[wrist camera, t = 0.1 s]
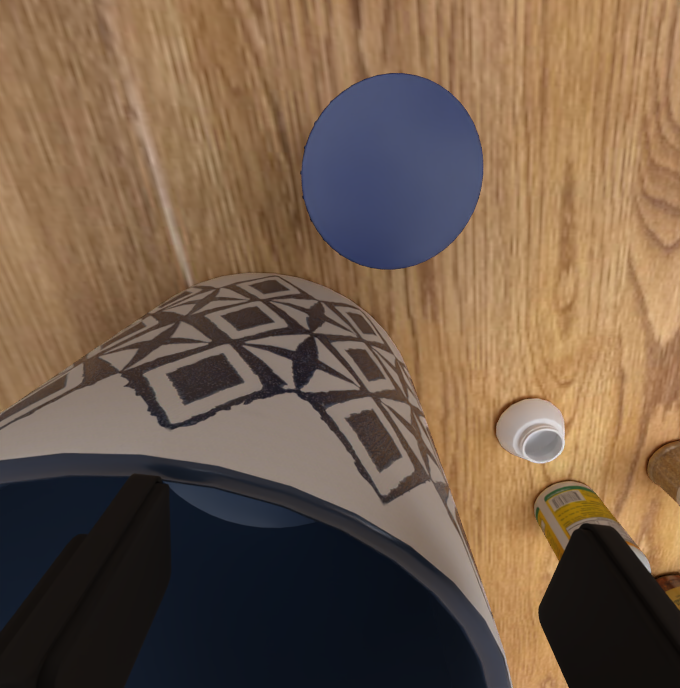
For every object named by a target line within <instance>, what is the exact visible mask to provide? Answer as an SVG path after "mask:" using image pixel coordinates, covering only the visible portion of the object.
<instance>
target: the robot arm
mask: <svg viewBox="0 0 680 688" xmlns="http://www.w3.org/2000/svg"><path fill="white" fill-rule="evenodd" d="M170 576H171V532H170V495H169V485H168V484H163V483H162V479H161V477H160V476H154V475H145V474H136V473H134V474H132V475H131V476H130V477H129V478H128V480H127V481H126V482H125V484H124V485H123V487H122V488H121V489H120V491H119V492H118V493H117V495H116V496H115V498H114V499H113V500H112V502H111V503H110V505H109V506H108V507H107V509H106V510H105V512H104V513H103V514H102V516H101V517H100V518H99V520H98V521H97V523H96V524H95V525H94V527H93V528H92V530H91V531H90V532H89V534H78V535H76V536H75V537H73V538H72V539H71V541H70V542H69V543H68V544H67V545H66V546H65V548H64V549H63V550H62V552H61V553H60V554H59V556H58V557H57V558H56V560H55V561H54V562H53V563H52V565H51V566H50V567H49V569H48V570H47V571H46V573H45V574H44V575H43V577H42V578H41V579H40V581H39V582H38V583H37V585H36V586H35V587H34V589H33V590H32V591H31V592H30V594H29V595H28V596H27V598H26V599H25V600H24V602H23V603H22V604H21V606H20V607H19V608H18V610H17V611H16V612H15V614H14V615H13V616H12V618H11V619H10V620H9V621H8V623H7V624H6V625H5V627H4V628H3V629H2V631H1V632H0V688H124V687H125V684H126V682H127V680H128V677H129V675H130V673H131V670H132V668H133V666H134V664H135V661H136V659H137V657H138V654H139V652H140V650H141V647H142V645H143V643H144V640H145V638H146V636H147V633H148V631H149V629H150V626H151V624H152V622H153V619H154V617H155V615H156V613H157V610H158V608H159V606H160V603H161V601H162V599H163V596H164V594H165V592H166V589H167V587H168V584H169V581H170ZM538 613H539V620H540V623H541V626H542V628H543V631H544V633H545V635H546V637H547V640H548V642H549V644H550V646H551V649H552V651H553V653H554V655H555V658H556V660H557V662H558V664H559V667H560V669H561V671H562V673H563V675H564V678H565V680H566V682H567V684H568V687H569V688H680V610H679V609H678V608H677V606H676V605H675V604H674V603H673V601H672V600H671V599H670V598H669V596H668V595H667V594H666V592H665V591H664V590H663V589H662V587H661V586H660V585H659V583H658V582H657V581H656V580H655V578H654V577H653V576H652V575H651V573H650V572H649V571H648V569H647V568H646V567H645V566H644V564H643V563H642V562H641V561H640V559H639V558H638V557H637V555H636V554H635V553H634V552H633V550H632V549H631V548H630V546H629V545H628V544H627V543H626V541H625V540H624V539H623V538H622V536H621V535H620V534H619V532H618V531H617V530H616V529H615V528H613V527H611V526H608V525H599V524H590V523H584V524H582V525H581V526H580V527H579V529H576V530H574V531H573V533H572V535H571V537H570V540H569V542H568V544H567V546H566V548H565V551H564V553H563V555H562V557H561V559H560V562H559V564H558V566H557V568H556V570H555V573H554V575H553V577H552V579H551V581H550V584H549V586H548V588H547V590H546V592H545V595H544V597H543V599H542V601H541V603H540V606H539V612H538Z"/></svg>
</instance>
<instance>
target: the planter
mask: <svg viewBox="0 0 680 688" xmlns="http://www.w3.org/2000/svg"><path fill="white" fill-rule="evenodd" d="M134 473H136V474H145V475H154V476H160V477H161V479H162V483H163V484H168V485H169V495H170V532H171V576H170V581H169V584H168V587H167V589H166V592H165V594H164V596H163V599H162V601H161V603H160V606H159V608H158V610H157V613H156V615H155V617H154V619H153V622H152V624H151V626H150V629H149V631H148V633H147V636H146V638H145V640H144V643H143V645H142V647H141V650H140V652H139V654H138V657H137V659H136V661H135V664H134V666H133V668H132V670H131V673H130V675H129V677H128V680H127V682H126V684H125V687H124V688H513V686H512V681H511V677H510V673H509V669H508V665H507V660H506V656H505V652H504V649H503V646H502V643H501V640H500V637H499V634H498V631H497V627H496V624H495V621H494V618H493V615H492V612H491V609H490V606H489V603H488V600H487V597H486V594H485V591H484V588H483V585H482V582H481V578H480V575H479V573H478V570H477V567H476V564H475V561H474V558H473V555H472V552H471V549H470V546H469V543H468V541H467V538H466V535H465V532H464V529H463V526H462V523H461V520H460V517H459V514H458V511H457V509H456V506H455V503H454V500H453V497H452V494H451V491H450V488H449V485H448V482H447V479H446V477H445V474H444V471H443V468H442V465H441V462H440V459H439V456H438V453H437V450H436V448H435V445H434V442H433V439H432V436H431V433H430V430H429V428H428V425H427V422H426V419H425V416H424V413H423V410H422V407H421V405H420V402H419V399H418V396H417V393H416V390H415V387H414V385H413V382H412V379H411V377H410V374H409V371H408V369H407V367H406V365H405V362H404V360H403V358H402V356H401V354H400V352H399V350H398V348H397V347H396V345H395V344H394V342H393V341H392V340H391V338H390V337H389V335H388V334H387V332H386V331H385V330H384V329H383V328H382V327H381V326H380V325H379V324H378V323H377V322H376V321H375V320H374V319H373V318H372V317H371V316H370V315H369V314H368V313H367V312H366V311H364V310H363V309H362V308H360V307H359V306H358V305H356V304H355V303H354V302H352V301H351V300H350V299H348V298H346V297H344V296H343V295H341V294H339V293H337V292H335V291H333V290H331V289H329V288H327V287H325V286H322V285H320V284H317V283H314V282H311V281H308V280H305V279H302V278H298V277H292V276H287V275H281V274H275V273H242V274H234V275H227V276H221V277H217V278H214V279H211V280H208V281H205V282H201V283H198V284H196V285H194V286H192V287H190V288H188V289H186V290H184V291H182V292H180V293H178V294H176V295H174V296H173V297H171V298H170V299H168V300H167V301H165V302H164V303H162V304H161V305H159V306H158V307H156V308H155V309H153V310H152V311H150V312H149V313H147V314H146V315H144V316H143V317H141V318H140V319H138V320H137V321H135V322H134V323H132V324H131V325H129V326H128V327H126V328H125V329H124V330H122V331H121V332H119V333H118V334H116V335H115V336H113V337H112V338H110V339H109V340H107V341H106V342H104V343H103V344H101V345H100V346H98V347H97V348H95V349H94V350H92V351H91V352H90V353H88V354H87V355H85V356H84V357H82V358H81V359H79V360H78V361H76V362H75V363H73V364H72V365H70V366H69V367H68V368H66V369H65V370H63V371H62V372H60V373H59V374H57V375H56V376H54V377H53V378H51V379H50V380H48V381H47V382H46V383H44V384H43V385H41V386H40V387H38V388H37V389H35V390H34V391H32V392H31V393H29V394H28V395H27V396H25V397H24V398H22V399H21V400H19V401H18V402H16V403H15V404H13V405H12V406H10V407H9V408H7V409H6V410H5V411H3V412H2V413H0V632H1V631H2V629H3V628H4V627H5V625H6V624H7V623H8V621H9V620H10V619H11V618H12V616H13V615H14V614H15V612H16V611H17V610H18V608H19V607H20V606H21V604H22V603H23V602H24V600H25V599H26V598H27V596H28V595H29V594H30V592H31V591H32V590H33V589H34V587H35V586H36V585H37V583H38V582H39V581H40V579H41V578H42V577H43V575H44V574H45V573H46V571H47V570H48V569H49V567H50V566H51V565H52V563H53V562H54V561H55V560H56V558H57V557H58V556H59V554H60V553H61V552H62V550H63V549H64V548H65V546H66V545H67V544H68V543H69V542H70V541H71V539H72V538H73V537H75V536H76V535H78V534H89V532H90V531H91V530H92V528H93V527H94V525H95V524H96V523H97V521H98V520H99V518H100V517H101V516H102V514H103V513H104V512H105V510H106V509H107V507H108V506H109V505H110V503H111V502H112V500H113V499H114V498H115V496H116V495H117V493H118V492H119V491H120V489H121V488H122V487H123V485H124V484H125V482H126V481H127V480H128V478H129V477H130V476H131V475H132V474H134Z"/></svg>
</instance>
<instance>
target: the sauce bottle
mask: <svg viewBox="0 0 680 688" xmlns="http://www.w3.org/2000/svg"><path fill="white" fill-rule="evenodd" d="M655 580H656V581H657V582H658V583H659V585H660V586H661V587H662V589H663V590H664V591H665V592H666V594H667V595H668V596H669V598H670V599H671V600H672V601H673V603H674V604H675V605H676V606H677V608H678V609H679V610H680V575H668V576H663V577H660V578H657V579H655Z"/></svg>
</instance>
